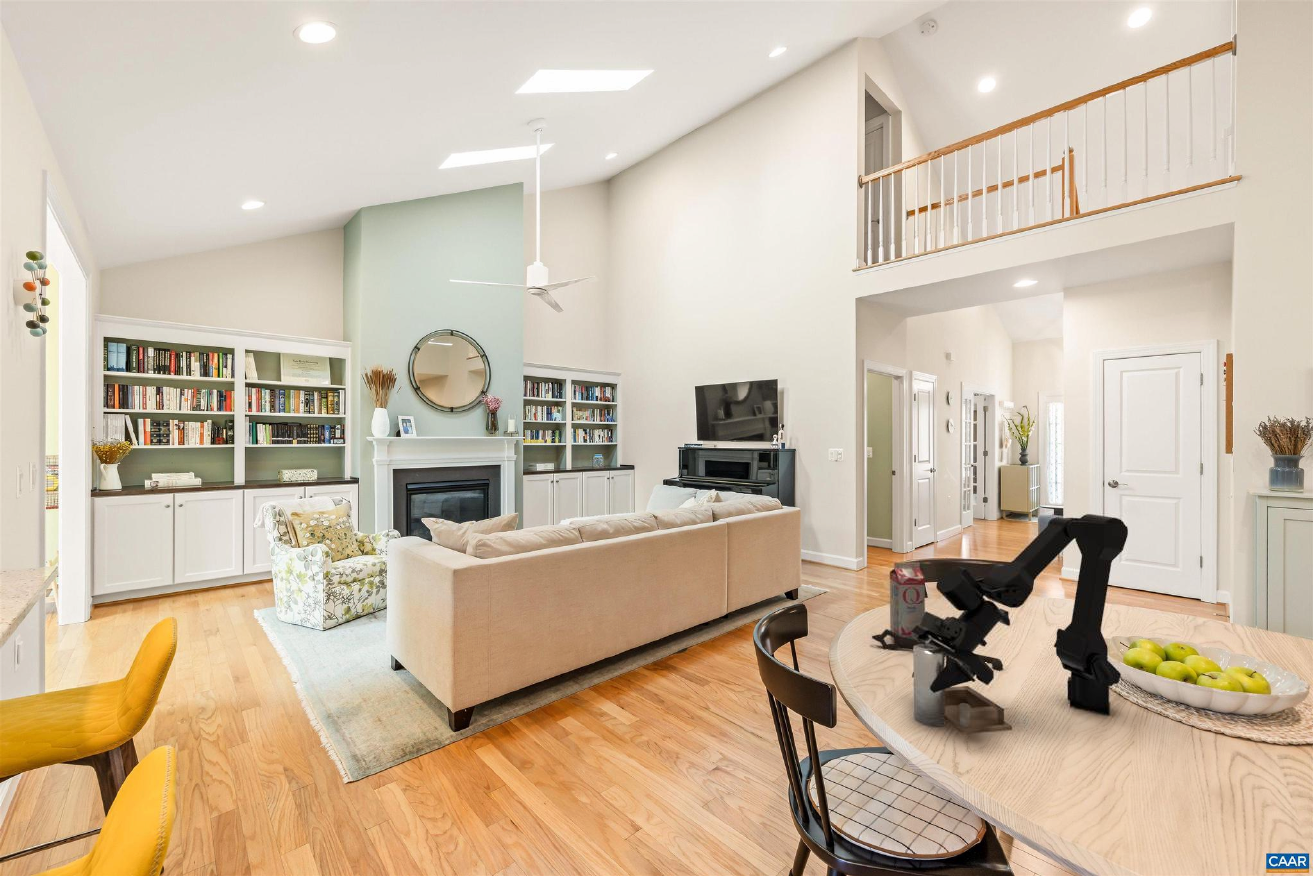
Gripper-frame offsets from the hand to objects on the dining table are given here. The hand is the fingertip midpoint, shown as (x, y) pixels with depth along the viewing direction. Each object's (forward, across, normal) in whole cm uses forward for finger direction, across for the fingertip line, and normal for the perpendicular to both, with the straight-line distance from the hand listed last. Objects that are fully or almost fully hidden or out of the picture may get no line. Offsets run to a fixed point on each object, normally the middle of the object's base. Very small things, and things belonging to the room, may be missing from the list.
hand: (922, 684), depth 114 cm
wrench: (-10, -29, +21) cm, 37 cm away
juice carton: (-9, -39, +20) cm, 45 cm away
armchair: (-2, 0, +12) cm, 12 cm away
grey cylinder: (+4, 0, +6) cm, 7 cm away
